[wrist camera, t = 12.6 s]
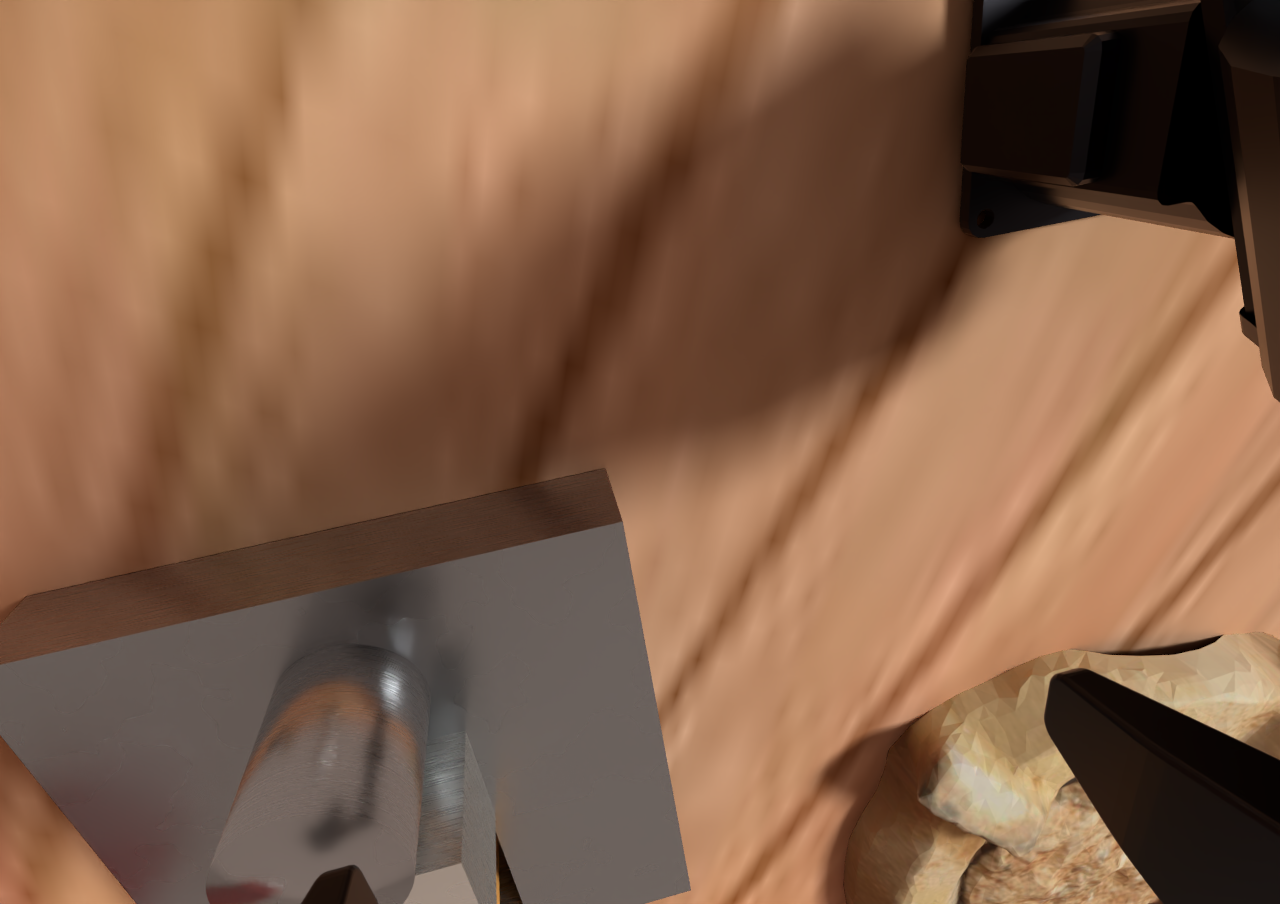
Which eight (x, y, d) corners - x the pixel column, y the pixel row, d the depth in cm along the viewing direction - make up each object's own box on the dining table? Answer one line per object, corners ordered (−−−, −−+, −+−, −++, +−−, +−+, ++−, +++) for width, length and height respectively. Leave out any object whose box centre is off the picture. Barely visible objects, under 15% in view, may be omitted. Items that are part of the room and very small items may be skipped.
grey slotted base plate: (605, 468, 21) (665, 655, 14) (671, 816, 28) (733, 1053, 21) (25, 596, 19) (-242, 884, 12) (258, 931, 27) (175, 1230, 20)
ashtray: (975, 556, 26) (1077, 650, 21) (1381, 635, 33) (1519, 717, 29) (742, 960, 34) (779, 1086, 30) (1103, 953, 42) (1176, 1054, 37)
